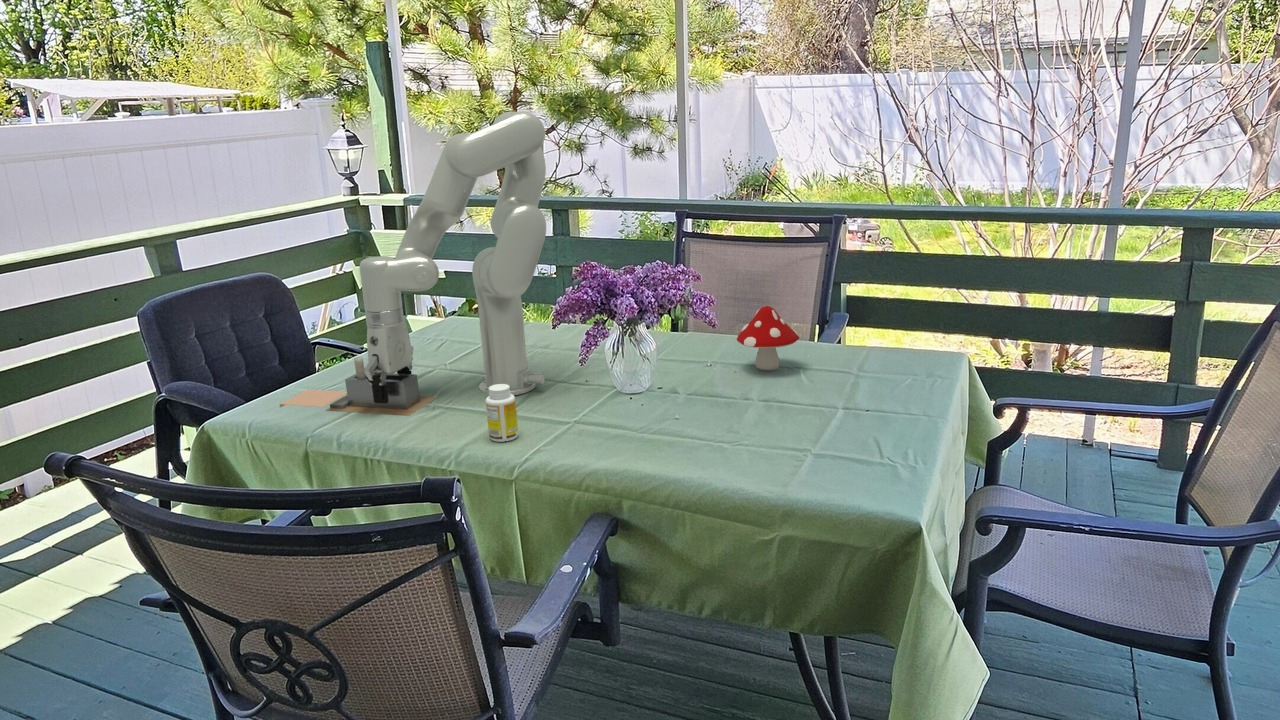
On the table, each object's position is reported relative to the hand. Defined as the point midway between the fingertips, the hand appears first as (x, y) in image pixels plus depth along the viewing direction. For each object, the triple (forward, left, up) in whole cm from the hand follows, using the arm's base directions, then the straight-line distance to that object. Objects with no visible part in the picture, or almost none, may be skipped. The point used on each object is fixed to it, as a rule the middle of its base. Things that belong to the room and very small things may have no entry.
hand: (394, 395), depth 190 cm
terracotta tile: (+21, -1, -3) cm, 21 cm away
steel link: (+3, 0, -2) cm, 3 cm away
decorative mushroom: (-74, -38, -3) cm, 83 cm away
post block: (+3, 0, -3) cm, 4 cm away
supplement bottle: (-31, +12, -3) cm, 33 cm away
